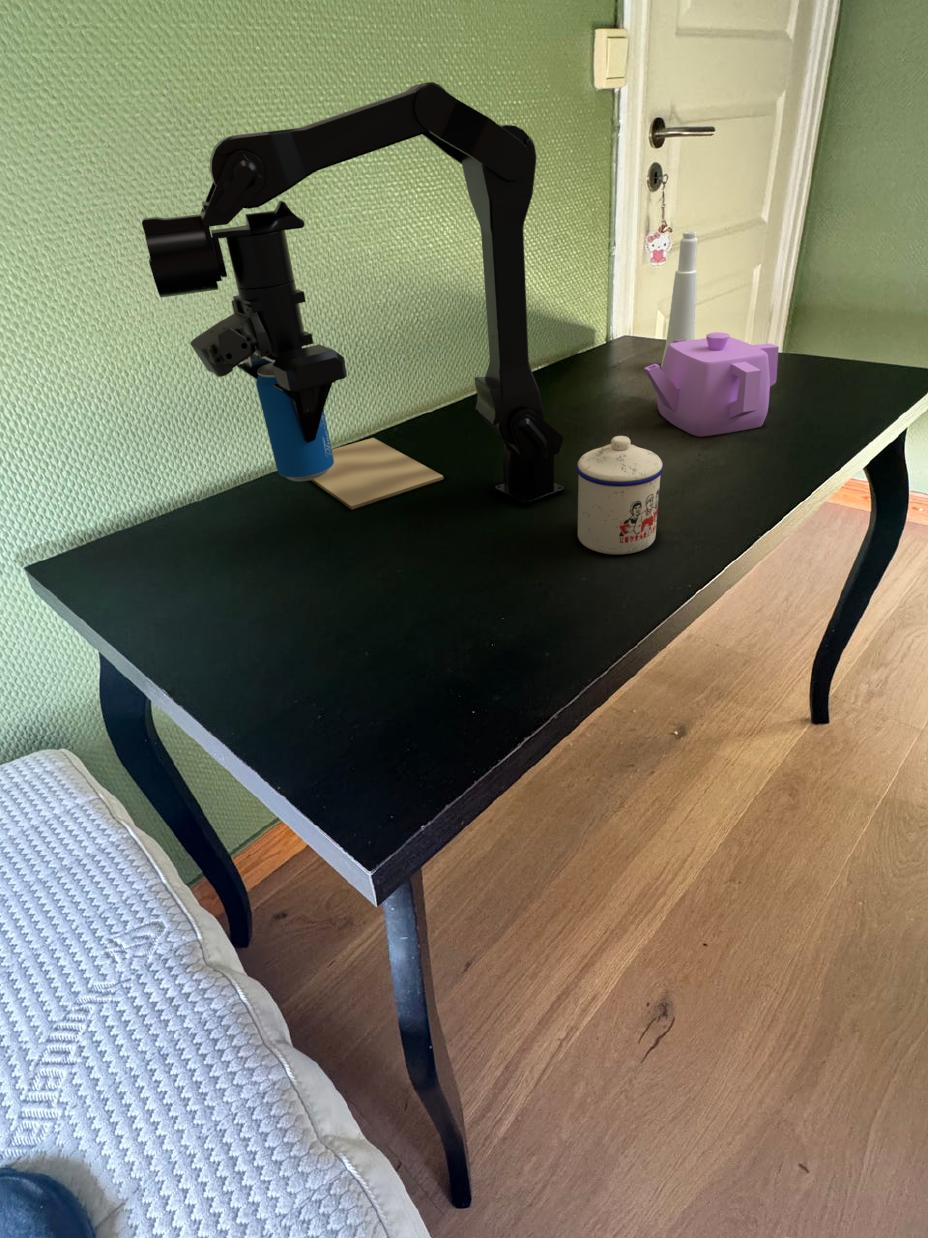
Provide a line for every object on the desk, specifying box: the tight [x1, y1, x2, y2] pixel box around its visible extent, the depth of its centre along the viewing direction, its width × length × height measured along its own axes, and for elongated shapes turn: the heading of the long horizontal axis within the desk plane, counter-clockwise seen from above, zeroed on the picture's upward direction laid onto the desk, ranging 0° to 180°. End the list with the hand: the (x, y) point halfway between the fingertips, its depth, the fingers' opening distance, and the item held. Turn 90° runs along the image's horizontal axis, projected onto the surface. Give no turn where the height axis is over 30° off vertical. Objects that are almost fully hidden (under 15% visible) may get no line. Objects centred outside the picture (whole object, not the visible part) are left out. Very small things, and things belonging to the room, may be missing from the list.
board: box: [310, 437, 445, 510], centre depth 107 cm, size 20×14×1 cm
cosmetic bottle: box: [660, 231, 699, 369], centre depth 132 cm, size 6×6×22 cm
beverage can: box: [255, 363, 334, 482], centre depth 84 cm, size 6×6×12 cm
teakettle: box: [643, 331, 780, 438], centre depth 112 cm, size 17×17×12 cm
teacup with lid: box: [576, 435, 664, 556], centre depth 84 cm, size 12×9×12 cm
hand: (297, 433), depth 85 cm, fingers closed on beverage can, 6 cm apart
